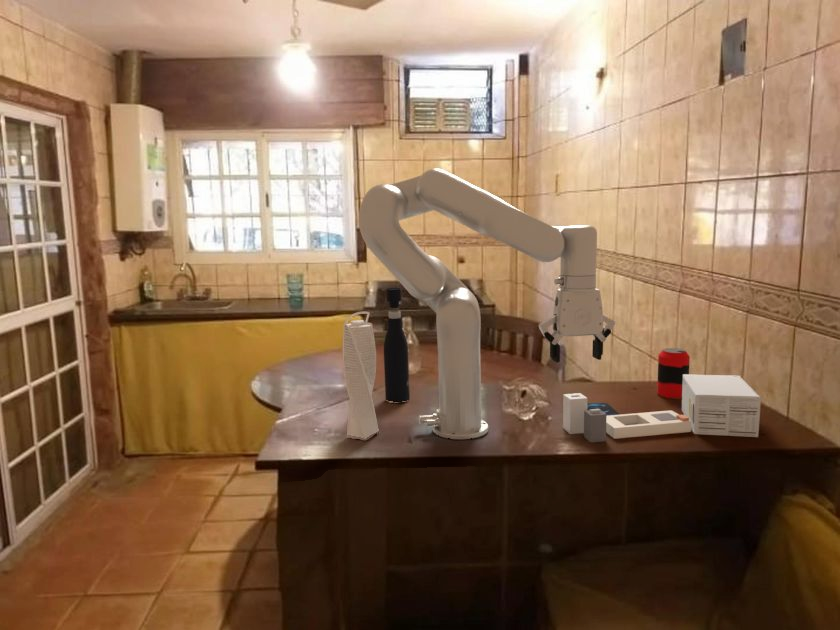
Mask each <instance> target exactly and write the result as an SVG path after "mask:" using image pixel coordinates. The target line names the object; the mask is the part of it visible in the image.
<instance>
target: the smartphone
mask: <svg viewBox="0 0 840 630" xmlns="http://www.w3.org/2000/svg"><path fill="white" fill-rule="evenodd" d="M590 409H600V410H601V411H603V412H604V413H605V414H606V416H610V415H621V414H620V413H619V412H618V411H617V410H616V409H614V408H613V407H612V406H611V405H610V404H609V403H607V402H593V403H591V402H589V403H588V402H587V410H590Z"/></svg>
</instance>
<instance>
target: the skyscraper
mask: <svg viewBox="0 0 840 630" xmlns="http://www.w3.org/2000/svg"><path fill="white" fill-rule="evenodd" d="M363 314H364V315H365V314H367V315H366V318H365V320H363V319H354V320H353V319H352V320H350V319H351V318H352V317H354V316H357V315H363ZM370 315H371V313H370V312H369V311H358V312H354V313H352V314H350V315H349V316H347V318H346V319H345V321H344V322H343V327H342V328H343V329H342V330H343V332H342V348H341V349H342V356H341V357H342V369H343V377H344V383H345V387H346V391H347V394H348V395H347V396H348V399H349V403H348V406H349V407H348V415H347V428H346V429H347V430H346V436H347V435H351V436H356V437H361V438H364V439H366V438H367V437H369V436H370V435H372V434H374V433H376V432H378V431H379V425H378V419H377V414H376V410H375V406H374V401H373V396H372V394H373V391H374V386H375V381H376V374H377V373H376V371H377V370H376V369H377V349H376V339H375V334H374V327H373V323H372V322H369V317H370ZM349 320H350V323H348V321H349ZM379 432H380V431H379Z"/></svg>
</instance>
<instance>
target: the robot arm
mask: <svg viewBox="0 0 840 630" xmlns="http://www.w3.org/2000/svg"><path fill="white" fill-rule="evenodd" d="M432 211H435V212H437V213H439V214H441V215H443V216H445V217H447V218H449V219H451V220H454V221H455V222H457V223H459V224H461V225H463V226H465V227H467V228H469V229H471V230H473V231H475V232H476V233H479V234H481V235H483V236H486V237H488V238H490V239H491V238H492V239H493V240H496V241H498V242H500V243H502V244H504V245H507V246H508V247H511V248H512V249H514V250H516V251H518V252H520V253H522V254H525V255H526V256H528V257H530V258H532V259H533V260H535V261H538V262H541V263H550V262H551V263H552V262H553V261H555V260H557V259H559V258H560V267H559V268H560V269H559V270H560V274H559V277H557V278H554V280H553V281H554V285H558V286H559V288H558V289H557V290H556V294H555V299H554V303H553V315H552V316H550V317H548V318H547V319H545V320H543V321H542V322H540V323H539V324H538V325H537V326H538V328H539V331H540V332H541V334H542V337H544V339H546V340H547V341H548V343H549V357H550V358H551V361H553V362H555V363H560V361H561V345H560V344H559V342H560V341H561V340H562V338H563V337H582V336H583V337H584V336H586V337H587V336H592V337H594V339H593V340H592V358H595V359H596V360H598V361H600V360H602V356H603V354H604V343H605V342H606V339H607V338H608V337H609V336H610V335H611V333H612V330H613V329H614V327H615V324H616V321H615V320H614V319H612V318H609V317H608V316H605V315H604V314H603V312H604V311H603V302H602V296H601V295H602V294H601V290H600V289H599V288H596V287H597V251H598V250H597V249H598V245H597V244H598V232H597V229H596V227H594V226H592V225H585V224H584V225H583V224H582V225H579V224H578V225H567V226H555V225H550V224H548V223H547V222H544V221H542V220H540V219H539V218H536V217H535V216H532V215H530V214H528V213H527V212H524V211H522V210H520V209H518V208H516V207H514V206H512V205H511V204H509V203H507V202H506V201H504V200H503V199H501V198H499V197H498V196H496V195H494V194H492V193H490V192H488V191H486V190H484V189H482V188H480V187H478V186H476V185H474V184H472V183H470V182H468V181H466V180H464V179H462V178H460V177H458V176H456V175H454V174H452V173H450V172H448V171H446V170H444V169H441V168H435V167H434V168H430V169H427V170H426V171H424V172H423V173H422V174H421V175H418V176H414V177H413V178H408V179H405V180H402V181H398V182H394V183H390V184H387V183H381V184H377V185H374V186H372V187H371V188H370V189H369V190H367V191H366V193H365V194H364V197H363V199H362V201H361V204H360V207H359V212H358V225H359V231H360V234H361V237H362V239H363V241H364V243H365V245H366V246H367V247H368V249H369V250H370V252H371V253H372V254H373V255H374V256H375V257H376V258H377V260H378V261H380V262H381V264H383V266H384V267H385V268H386V269H387V270H388V272H389V273H390V274H391V275H392V276H393V277H394V278H395V279H396V280H397V281H398V282H399V283H400V284H401V285H402V286H403V287H404V288H405V290H406V291H407V292H408V294H410V296H412V297H413V298H415V299H417V300H420V301H423V302H424V303H426V304H427V306H429V308H430V309H431V310H432V311H434V313H435V314H436V318H435V319H436V320H435V321H436V323H435V324H436V325H435V327H436V341H437V342H436V344H437V366H438V367H437V368H438V369H437V370H438V373H437V374H438V408H436V410H435V412H434V413H432V414H430V415H429V414H424V415H418V424H420V425H424V424H425V425H426V427H430V426H432V431H433V433H434V434H435V435H436V436H438V435H439V437H442V438H445V439H448V438H450V439H451V440H472V439H476V438H480V437H482V436H484V435H486V434H487V433H488V432H489V425H488V423H487V422H486V421H485V420H483V419H482V390H481V389H482V386H481V385H482V375H481V374H482V368H481V364H482V363H481V328H482V327H481V322H482V320H481V319H482V318H481V317H482V316H481V310H480V309H481V308H480V305H479V302H478V299H477V297H476V296H475V295H474V293H473V292H472V291H471V290H470V289H469V288H468V287H467V286H466V285H465V284H464V283H463V282H462V281H461V280H460V279H459V278H458V276H456V274H454V272H452V270H450V268H449V267H448V266H447V265H446V264H445V263H444V262H442V261H441V260H440V259H439V258H438V257H436V256H434V255H429V254H427V253H426V252H425V251H424V250H423V249H422V248H421V247H420V246H419V244H418V243H416V242H415V240H414V239H413V238H412V237H411V236H410V235H409V233H407V232H406V231H405V230H404V228H402V226H401V224H400V221H402V220H406V219H409V218H413V217H416V216H420V215H423V214H426V213H429V212H432ZM604 323H605V326H604ZM550 326H552V329H553V332H552V333H550V332H549V329H548V328H549V327H550ZM471 438H472V439H471Z"/></svg>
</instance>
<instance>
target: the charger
mask: <svg viewBox="0 0 840 630" xmlns="http://www.w3.org/2000/svg"><path fill="white" fill-rule="evenodd" d="M562 397H563V400H562V402H563V404H562V405H563V406H562V411H563V412H562V429H564V430H565V431H566V432H567V433H568V434H569V435H574V434H575V435H576V434H584V410H587V403H588V397H587V396H585V395H584V394H583V393H581V392H578V393H576V392H575V393H565V394H564V393H563V394H562Z"/></svg>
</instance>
